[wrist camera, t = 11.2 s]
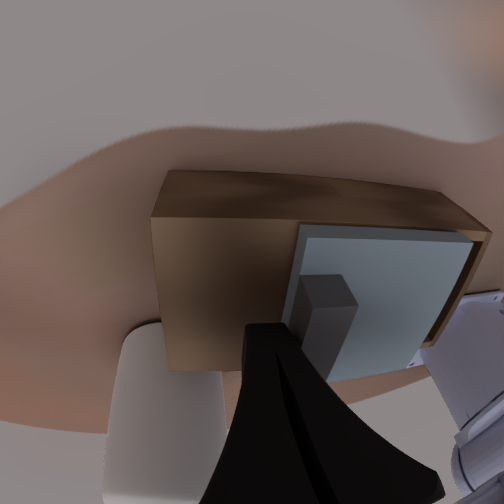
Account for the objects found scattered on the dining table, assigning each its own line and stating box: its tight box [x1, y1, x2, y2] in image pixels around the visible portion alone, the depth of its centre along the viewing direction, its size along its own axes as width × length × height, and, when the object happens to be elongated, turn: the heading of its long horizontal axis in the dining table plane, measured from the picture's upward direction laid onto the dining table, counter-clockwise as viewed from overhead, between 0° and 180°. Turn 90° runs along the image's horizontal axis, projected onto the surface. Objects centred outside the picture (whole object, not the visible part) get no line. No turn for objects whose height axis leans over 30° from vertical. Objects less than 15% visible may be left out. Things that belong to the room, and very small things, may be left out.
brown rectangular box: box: [150, 171, 493, 371], centre depth 14 cm, size 14×8×5 cm, turn 85°
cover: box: [281, 224, 473, 383], centre depth 11 cm, size 7×8×2 cm
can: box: [102, 322, 227, 504], centre depth 14 cm, size 6×6×12 cm
